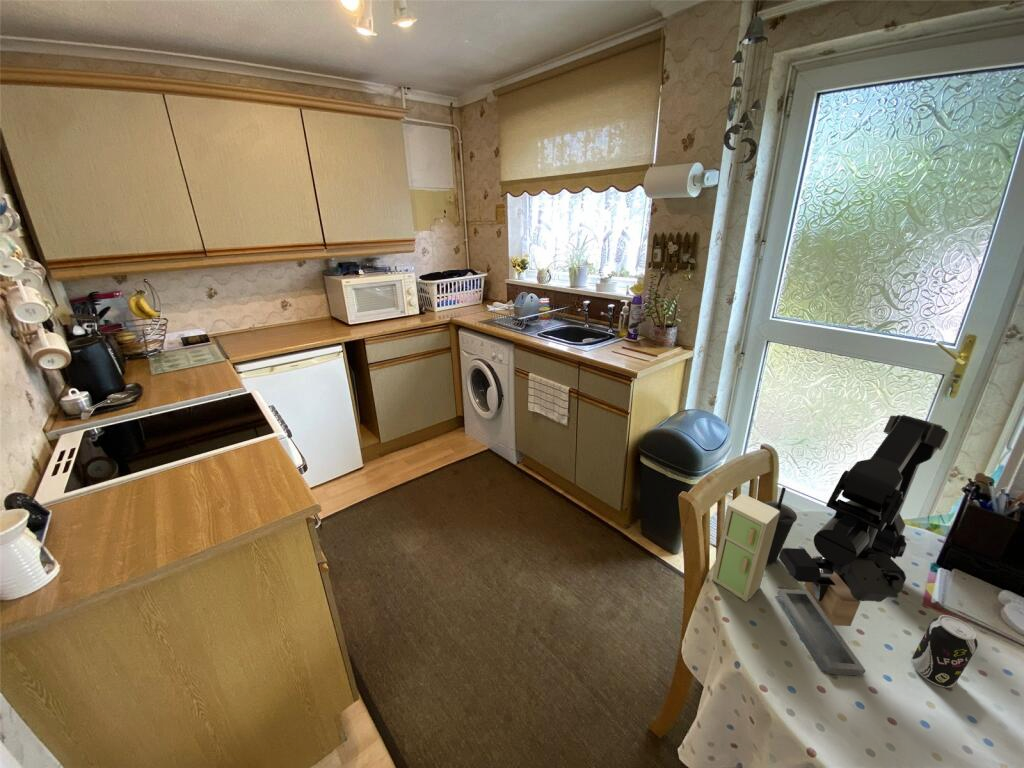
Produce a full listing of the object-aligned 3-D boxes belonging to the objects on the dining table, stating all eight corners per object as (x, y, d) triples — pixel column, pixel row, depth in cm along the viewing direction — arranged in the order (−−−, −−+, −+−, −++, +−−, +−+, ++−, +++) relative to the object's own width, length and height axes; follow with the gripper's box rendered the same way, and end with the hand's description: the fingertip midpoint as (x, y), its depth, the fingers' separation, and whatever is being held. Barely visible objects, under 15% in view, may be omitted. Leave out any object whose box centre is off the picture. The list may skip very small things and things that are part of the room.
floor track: (773, 595, 90) (775, 588, 89) (808, 597, 89) (810, 590, 88) (823, 674, 74) (826, 667, 73) (865, 677, 73) (868, 670, 73)
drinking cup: (745, 560, 99) (764, 491, 92) (748, 540, 105) (765, 474, 98) (782, 573, 95) (804, 502, 88) (782, 552, 101) (803, 484, 94)
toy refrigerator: (708, 580, 93) (725, 505, 86) (724, 565, 98) (742, 492, 90) (744, 604, 87) (766, 526, 80) (760, 587, 92) (782, 511, 84)
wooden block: (803, 584, 83) (811, 562, 81) (819, 585, 83) (827, 562, 81) (832, 625, 75) (842, 601, 72) (850, 626, 74) (860, 602, 72)
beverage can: (917, 682, 73) (943, 634, 68) (904, 653, 78) (927, 607, 73) (960, 696, 70) (990, 647, 66) (944, 665, 75) (970, 618, 71)
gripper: (825, 568, 66) (801, 636, 72) (949, 574, 65) (914, 642, 70) (787, 521, 76) (768, 583, 82) (893, 525, 75) (867, 588, 81)
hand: (827, 599), depth 78 cm, fingers closed on wooden block, 3 cm apart
